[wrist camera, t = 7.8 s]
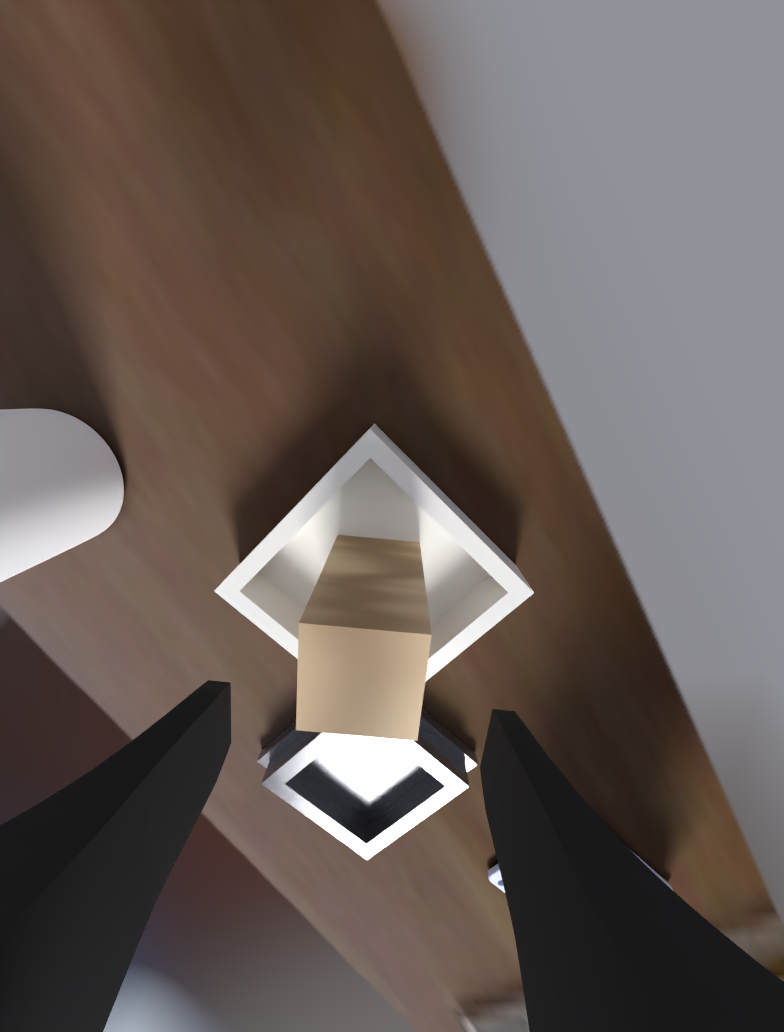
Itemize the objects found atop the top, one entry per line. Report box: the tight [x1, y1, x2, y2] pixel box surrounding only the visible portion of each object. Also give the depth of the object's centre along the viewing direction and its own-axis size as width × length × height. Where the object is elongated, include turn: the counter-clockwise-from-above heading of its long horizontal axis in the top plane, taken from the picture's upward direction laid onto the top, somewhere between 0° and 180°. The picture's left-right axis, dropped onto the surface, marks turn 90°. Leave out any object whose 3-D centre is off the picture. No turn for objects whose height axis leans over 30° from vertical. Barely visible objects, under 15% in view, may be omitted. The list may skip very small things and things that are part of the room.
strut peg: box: [296, 535, 432, 741], centre depth 17 cm, size 4×4×8 cm
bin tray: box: [215, 423, 534, 682], centre depth 20 cm, size 10×10×3 cm
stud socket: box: [257, 708, 478, 860], centre depth 24 cm, size 9×9×2 cm
